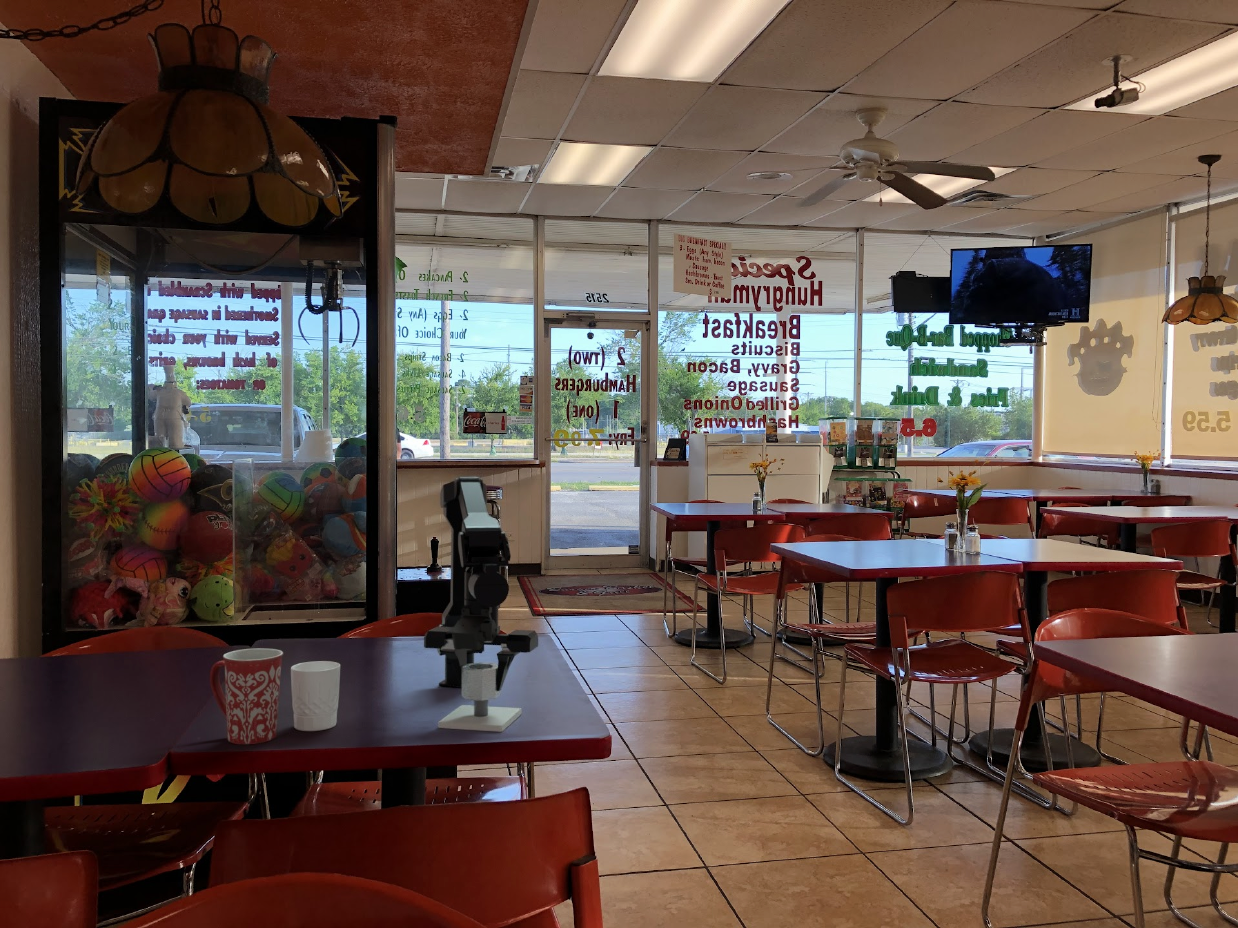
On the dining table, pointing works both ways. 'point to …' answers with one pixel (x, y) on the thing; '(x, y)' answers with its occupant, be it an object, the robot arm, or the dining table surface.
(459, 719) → the post fixture
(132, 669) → the dining table surface
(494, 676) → the grey hollow octagonal cylinder
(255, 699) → the mug
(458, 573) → the robot arm
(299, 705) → the white cup
